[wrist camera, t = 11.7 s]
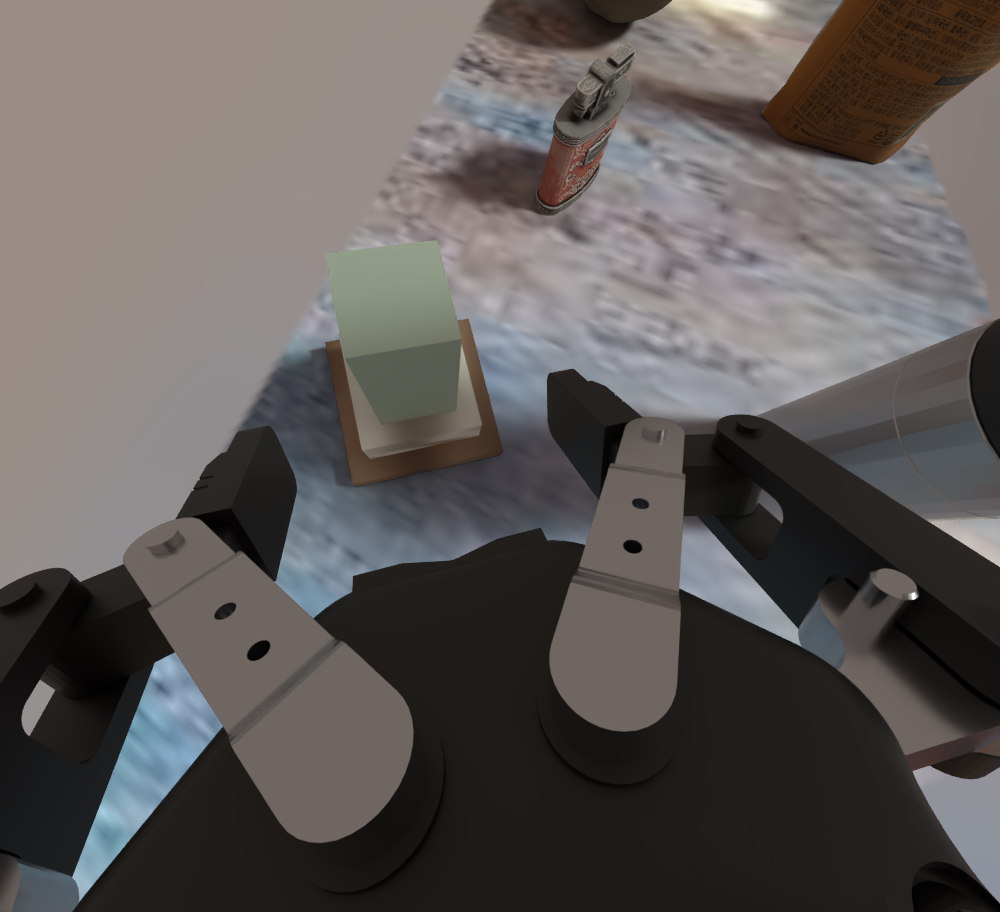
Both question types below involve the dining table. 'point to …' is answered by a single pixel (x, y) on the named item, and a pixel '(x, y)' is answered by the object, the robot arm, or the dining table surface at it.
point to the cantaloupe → (626, 9)
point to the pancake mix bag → (884, 73)
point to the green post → (398, 328)
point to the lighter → (584, 132)
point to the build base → (421, 456)
